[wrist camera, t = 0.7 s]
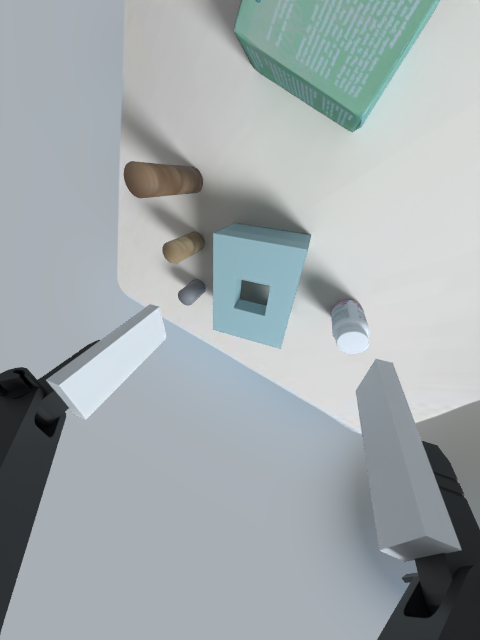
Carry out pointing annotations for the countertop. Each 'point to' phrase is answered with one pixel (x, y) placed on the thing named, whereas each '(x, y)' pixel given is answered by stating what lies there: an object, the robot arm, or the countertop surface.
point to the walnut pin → (161, 179)
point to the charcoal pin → (191, 292)
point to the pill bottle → (350, 327)
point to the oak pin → (183, 247)
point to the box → (331, 48)
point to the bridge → (256, 280)
